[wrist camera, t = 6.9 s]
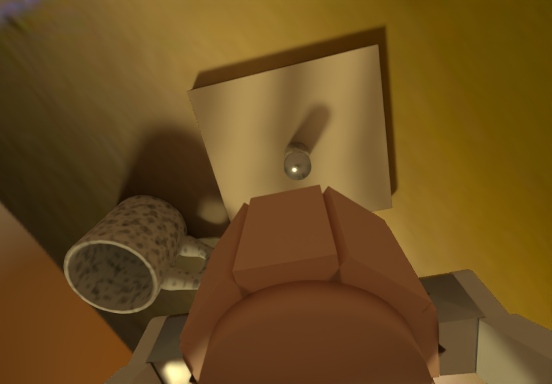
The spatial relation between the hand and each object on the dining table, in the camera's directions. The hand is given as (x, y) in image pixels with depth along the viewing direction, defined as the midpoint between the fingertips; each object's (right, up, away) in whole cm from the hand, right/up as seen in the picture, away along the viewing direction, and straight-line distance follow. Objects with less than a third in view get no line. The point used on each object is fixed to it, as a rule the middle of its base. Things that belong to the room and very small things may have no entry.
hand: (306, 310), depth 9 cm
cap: (0, +1, +2) cm, 2 cm away
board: (+1, +7, +15) cm, 17 cm away
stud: (+1, +6, +14) cm, 15 cm away
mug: (-11, 0, +19) cm, 22 cm away
